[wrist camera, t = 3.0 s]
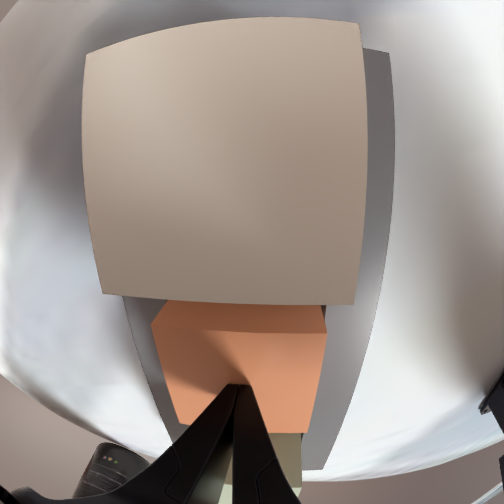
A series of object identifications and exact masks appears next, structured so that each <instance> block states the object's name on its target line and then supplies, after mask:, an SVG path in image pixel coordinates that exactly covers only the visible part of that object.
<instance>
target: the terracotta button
mask: <svg viewBox="0 0 504 504" xmlns="http://www.w3.org/2000/svg"><path fill="white" fill-rule="evenodd" d="M151 328H152V332H153V336H154V340H155V344H156V348H157V352H158V356H159V359H160V363H161V366H162V370H163V373H164V377H165V380H166V383H167V387H168V390H169V393H170V396H171V399H172V402H173V405H174V408H175V411H176V414H177V417H178V420H179V422H180V423H181V424H187V425H191V424H192V423H193V422H194V421H195V420H196V418H197V417H198V416H199V415H200V414H201V413H202V412H203V411H204V410H205V408H206V407H207V406H208V405H209V404H210V403H211V402H212V401H213V400H214V398H215V397H216V396H217V395H218V394H219V393H220V392H221V390H222V389H223V388H224V387H225V386H226V385H227V384H228V383H231V384H238V385H239V386H240V385H241V384H245V385H251V386H252V388H253V391H254V394H255V397H256V400H257V403H258V406H259V408H260V411H261V414H262V417H263V420H264V422H265V425H266V428H267V431H268V433H307V431H308V427H309V423H310V419H311V415H312V411H313V406H314V402H315V397H316V393H317V388H318V383H319V378H320V373H321V368H322V362H323V357H324V351H325V345H326V339H327V329H326V325H325V321H324V317H323V313H322V309H321V305H266V304H235V303H213V302H196V301H180V300H168V301H167V302H166V303H165V305H164V306H163V308H162V309H161V310H160V312H159V313H158V315H157V316H156V318H155V319H154V320H153V322H152V323H151Z"/></svg>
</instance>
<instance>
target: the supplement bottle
mask: <svg viewBox="0 0 504 504" xmlns="http://www.w3.org/2000/svg"><path fill="white" fill-rule="evenodd" d="M149 465H151V464H150V463H149V462H147V461H146V460H145V459H144V458H142V457H141V456H139V455H138V454H136V453H134V452H132V451H130V450H128V449H126V448H124V447H122V446H119V445H116V444H113V443H101V444H99V446H98V447H97V448H96V450H95V452H94V454H93V456H92V458H91V460H90V462H89V464H88V466H87V467H86V469H85V471H84V473H83V475H82V477H81V479H80V481H79V483H78V485H77V487H76V489H75V491H74V493H73V495H72V499H73V498H81V497H88V496H95V495H100V494H105V493H108V492H111V491H113V490H115V489H117V488H119V487H120V486H122V485H123V484H125V483H126V482H127V481H129V480H130V479H132V478H133V477H135V476H136V475H137V474H139V473H140V472H142V471H143V470H144V469H146V468H147V467H148V466H149Z"/></svg>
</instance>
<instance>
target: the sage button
mask: <svg viewBox="0 0 504 504" xmlns="http://www.w3.org/2000/svg"><path fill="white" fill-rule="evenodd" d="M269 436H270V439H271V442H272V444H273V447H274V450H275V452H276V455H277V458H278V460H279V462H280V465H281V467H282V470H283V472H284V474H285V477H286V479H287V480H288V482H289V484H290V486H291V488H292V489H293V491H294V493H295V494H296V496H297V497H298V495H299V493H300V491H301V488H302V457H301V433H269ZM232 455H233V453H232ZM218 504H232V457H231V461H230V464H229V468H228V471H227V475H226V479H225V482H224V486H223V489H222V493H221V496H220V499H219V503H218Z"/></svg>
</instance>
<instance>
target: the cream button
mask: <svg viewBox="0 0 504 504" xmlns="http://www.w3.org/2000/svg"><path fill="white" fill-rule="evenodd" d="M367 160H368V126H367V98H366V82H365V70H364V59H363V50H362V42H361V35H360V28H359V24H357V23H350V22H343V21H336V20H327V19H316V18H300V17H252V18H236V19H225V20H216V21H209V22H202V23H195V24H189V25H184V26H179V27H174V28H169V29H165V30H160V31H156V32H152V33H148V34H145V35H141V36H137V37H134V38H131V39H128V40H124V41H121V42H118V43H115V44H112V45H110V46H107V47H104V48H101V49H99V50H96V51H94V52H91V53H89V54H86V61H85V70H84V81H83V96H82V161H83V176H84V188H85V198H86V207H87V214H88V222H89V228H90V235H91V240H92V246H93V252H94V257H95V262H96V266H97V271H98V276H99V280H100V284H101V288H102V292H103V294H111V295H121V296H131V297H142V298H153V299H166V300H180V301H196V302H213V303H235V304H266V305H354V299H355V293H356V287H357V280H358V273H359V266H360V258H361V249H362V240H363V230H364V219H365V205H366V189H367Z"/></svg>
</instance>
